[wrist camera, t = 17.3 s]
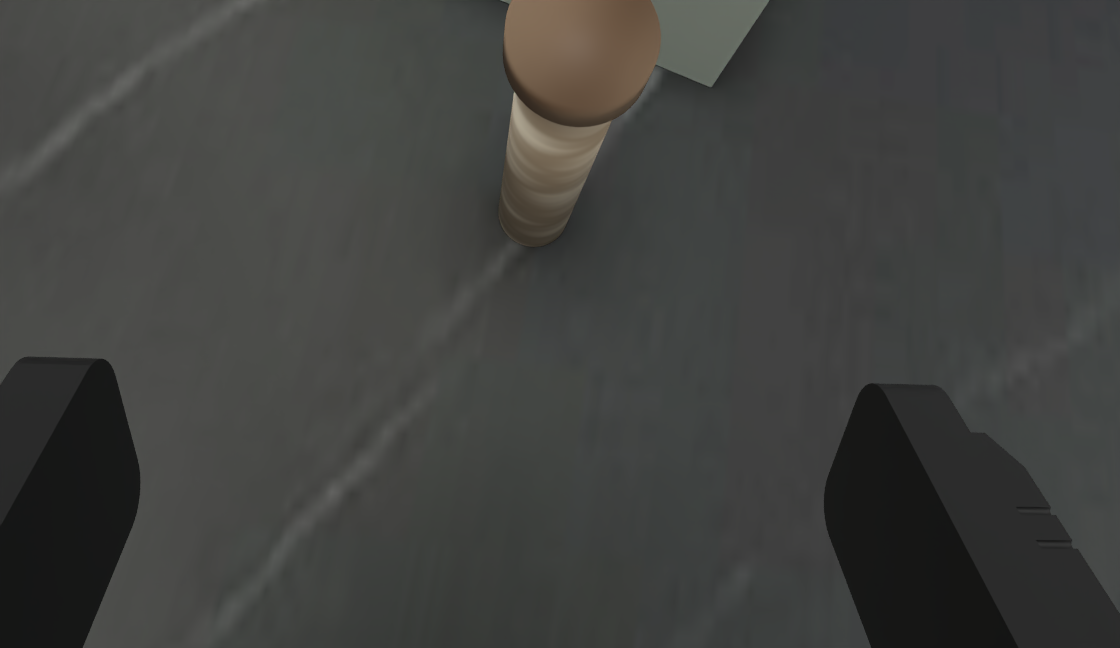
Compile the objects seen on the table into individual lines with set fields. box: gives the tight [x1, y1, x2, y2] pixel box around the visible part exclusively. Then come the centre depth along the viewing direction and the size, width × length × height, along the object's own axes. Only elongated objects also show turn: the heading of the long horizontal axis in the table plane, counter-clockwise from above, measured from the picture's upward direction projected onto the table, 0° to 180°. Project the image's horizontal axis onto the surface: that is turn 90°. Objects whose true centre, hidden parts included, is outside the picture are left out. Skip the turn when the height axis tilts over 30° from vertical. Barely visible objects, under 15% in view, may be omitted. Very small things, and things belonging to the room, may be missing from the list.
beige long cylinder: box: [498, 0, 661, 247], centre depth 35 cm, size 4×4×19 cm
